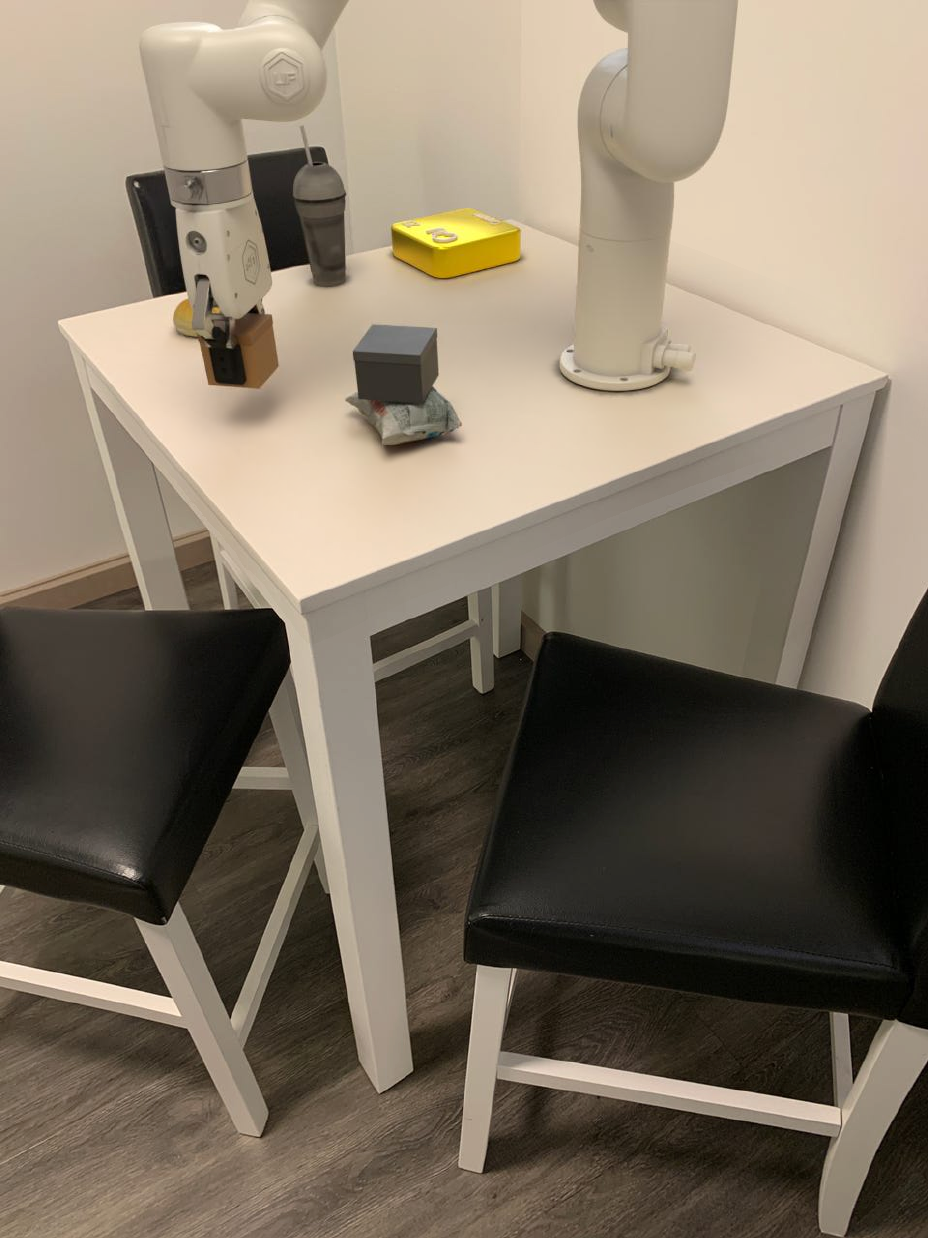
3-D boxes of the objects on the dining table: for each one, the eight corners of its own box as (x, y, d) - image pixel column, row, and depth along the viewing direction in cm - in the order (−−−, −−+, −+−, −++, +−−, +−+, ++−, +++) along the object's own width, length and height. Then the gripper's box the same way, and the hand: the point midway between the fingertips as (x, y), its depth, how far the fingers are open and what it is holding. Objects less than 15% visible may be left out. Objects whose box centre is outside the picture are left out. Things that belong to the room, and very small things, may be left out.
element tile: (526, 259, 137) (526, 225, 134) (439, 281, 131) (438, 246, 128) (470, 234, 147) (469, 202, 144) (387, 253, 141) (385, 220, 138)
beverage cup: (352, 289, 130) (335, 130, 117) (300, 290, 130) (278, 132, 117) (357, 271, 135) (342, 118, 123) (308, 272, 136) (287, 120, 123)
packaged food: (383, 464, 92) (380, 418, 88) (346, 414, 100) (341, 371, 97) (464, 445, 94) (464, 400, 91) (421, 399, 103) (419, 356, 100)
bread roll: (168, 324, 122) (161, 294, 119) (233, 309, 125) (228, 279, 123) (187, 345, 116) (180, 313, 114) (255, 329, 119) (249, 298, 117)
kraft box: (279, 366, 99) (271, 314, 95) (259, 389, 94) (250, 335, 91) (229, 362, 100) (219, 310, 96) (207, 385, 95) (196, 332, 92)
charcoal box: (439, 374, 96) (436, 327, 93) (423, 404, 91) (420, 355, 88) (376, 370, 97) (372, 323, 94) (357, 399, 92) (352, 351, 89)
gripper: (208, 211, 78) (245, 409, 89) (281, 160, 91) (305, 339, 102) (127, 208, 79) (173, 403, 91) (210, 158, 92) (241, 335, 104)
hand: (243, 367), depth 96 cm, fingers closed on kraft box, 5 cm apart
